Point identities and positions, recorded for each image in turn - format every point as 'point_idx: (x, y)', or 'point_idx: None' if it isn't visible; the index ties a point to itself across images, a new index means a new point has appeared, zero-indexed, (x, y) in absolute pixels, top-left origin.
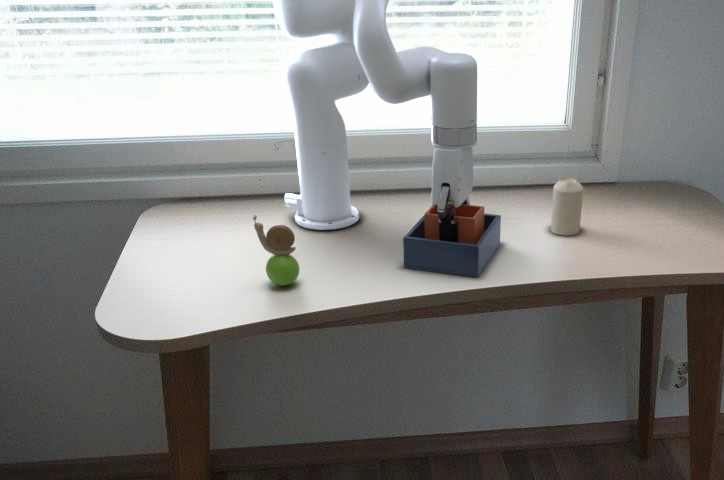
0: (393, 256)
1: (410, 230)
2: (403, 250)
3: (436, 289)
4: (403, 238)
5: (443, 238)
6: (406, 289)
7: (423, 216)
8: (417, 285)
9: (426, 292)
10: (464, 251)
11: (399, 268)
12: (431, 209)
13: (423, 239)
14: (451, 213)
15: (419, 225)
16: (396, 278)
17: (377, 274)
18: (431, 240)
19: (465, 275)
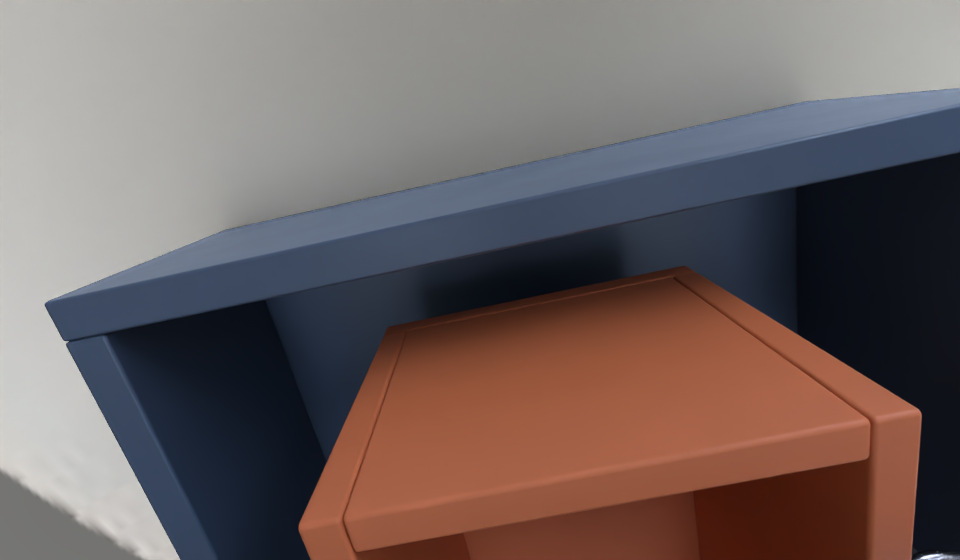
0: (340, 52)
1: (260, 265)
2: (144, 263)
3: (129, 506)
4: (54, 304)
5: None
6: (14, 391)
7: (730, 165)
8: (96, 413)
9: (67, 485)
10: None
11: (204, 206)
12: (536, 519)
13: (151, 489)
14: (776, 524)
15: (476, 252)
16: (78, 270)
17: (31, 129)
18: (185, 548)
19: None
